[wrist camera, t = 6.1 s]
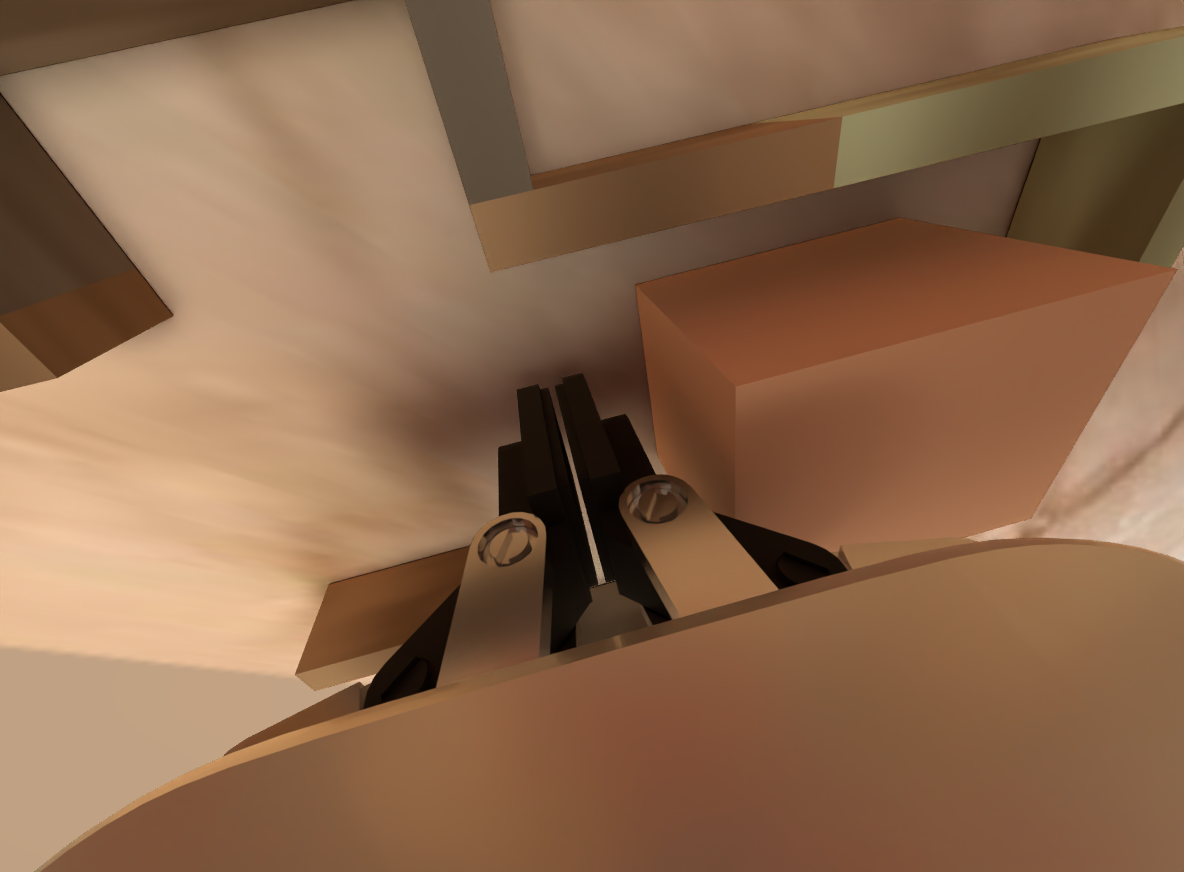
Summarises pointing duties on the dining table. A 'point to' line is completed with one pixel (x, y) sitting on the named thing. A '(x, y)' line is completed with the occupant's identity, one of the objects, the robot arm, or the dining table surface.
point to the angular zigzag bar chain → (591, 207)
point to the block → (886, 377)
